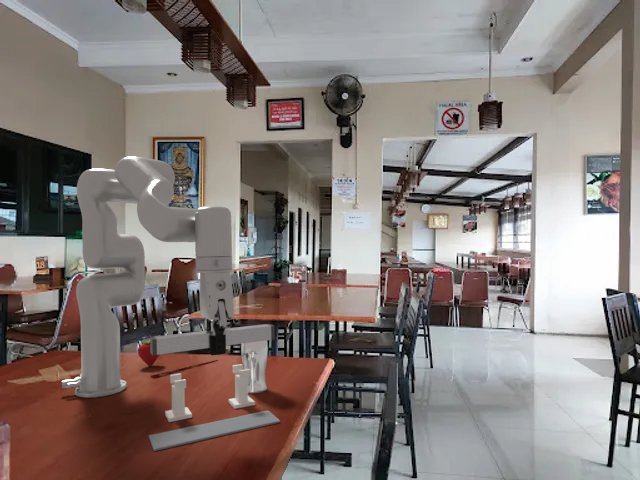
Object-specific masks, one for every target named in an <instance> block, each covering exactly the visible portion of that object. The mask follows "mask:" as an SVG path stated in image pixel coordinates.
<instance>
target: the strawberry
mask: <svg viewBox="0 0 640 480" xmlns="http://www.w3.org/2000/svg"><path fill="white" fill-rule="evenodd" d="M150 337H152V336H151V335H149V338H150ZM141 343H142V344H141V345H140V346H138V348H137V354H138V357H139V358H140V359H141V360H142V362H144V363H145V364H146V366H148V367H152V366H154V363H155V362H156V361H157V359H158V358H159V357H160V355H161V354H158V355H152V354H151V352H150V339H148V340H146V341H142V342H141Z"/></svg>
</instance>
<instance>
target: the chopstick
mask: <svg viewBox="0 0 640 480" xmlns="http://www.w3.org/2000/svg"><path fill="white" fill-rule="evenodd" d="M218 361H219V360H217V359H215V360H211V361H207V362H203V363H199V364H194V365H190V366H187V367H181V368H177V369H174V370H173V369H172V370H170V371H169V370H168V371H165V372H161V373H157V374H152V375H150V379H157V378H162V377H164V376H170V375H173V374H177V373H180V372H183V371H186V370H190V369H193V368H198V367H200V366H205V365H207V364H211V363H215V362H218Z"/></svg>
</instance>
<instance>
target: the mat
mask: <svg viewBox="0 0 640 480" xmlns="http://www.w3.org/2000/svg"><path fill="white" fill-rule="evenodd" d="M278 423H281V420H280V419H279V418H278V417H276V415H274V414H273V413H272V412H271V411H270V410H264V411H263V410H262V411H258V412H253V413H249V414H244V415H239V416H235V417H234V416H233V417H230V418H225V419H220V420H216V421H211V422H205V423H201V424H197V425H196V424H195V425H191V426H186V427H183V428H178V429H173V430H168V431H163V432H158V433H154V434H149V435H148V438H149V442H150V444H151V445H150V446H151V447H152V450H153V452H156V451H161V450H166V449H170V448H174V447H178V446H182V445H187V444H192V443H195V442H200V441H204V440H210V439H213V438H217V437H222V436H227V435H231V434H235V433H240V432H243V431H248V430H253V429H256V428H262V427H267V426H269V425H274V424H278Z"/></svg>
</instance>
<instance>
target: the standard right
mask: <svg viewBox="0 0 640 480" xmlns="http://www.w3.org/2000/svg"><path fill="white" fill-rule="evenodd" d="M231 366H232V367H231V368H232V374H234V397H233V398H228V403H229V404H230V406H231V407H232V408H234V409H235V410H236V409H241V408H245V407H250V406H255V405H256V401H255V400H254V399H252V398H251V397H250V396H249V393H248V377H250V369H245V370H244V367H243V363H240V364H233V365H231Z"/></svg>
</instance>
